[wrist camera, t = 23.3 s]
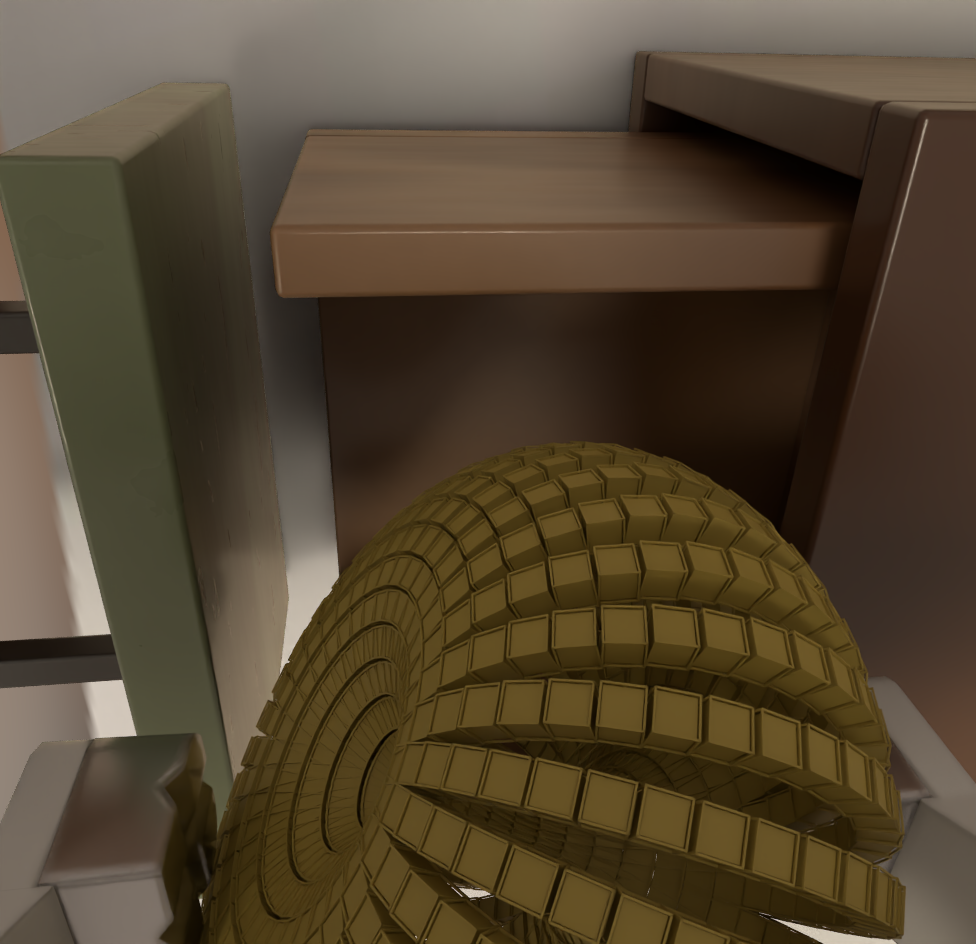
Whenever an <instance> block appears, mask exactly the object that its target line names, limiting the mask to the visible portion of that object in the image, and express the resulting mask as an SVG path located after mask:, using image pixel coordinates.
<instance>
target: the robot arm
mask: <svg viewBox="0 0 976 944" xmlns="http://www.w3.org/2000/svg"><path fill="white" fill-rule="evenodd" d="M864 680H865V678H864ZM864 685H865V684H864ZM868 687H869V688H871V687H873V688H874V692H875V696H876V699H877V703H878V707H879V709H882V712H883V716H884V719H885V723H886V726H887V730H888V734H889V737H890V741H891V745H892V747H891V753H890V758H889V759H890V763H891V767H890V769H889V770H888V772H887V774H892V775H893V779H894V783H895V787H896V790H899V791H900V795H901V804H902V814H903V823H904V832H905V835H904V838H903V840H902V845H903V848H902V849H901V850H899V851H898V852H897V853H895V854H894V855H893V856H892V859H890V860H888V861H885V862H883V863H880V864H878V866H881V867H882V868H883V869H885V870H886V871H887V872H889V873H890V874H891V875H893V876H894V877H898V878H899V880H900V882H901V884H902V885H903V886H906V898H905V921H904V935H903V936H902V939H892V940H894V941H895V942H896V943H897V944H976V783H975V782H974V781H973V779H972V778H971V777H970V776H969V774H968V773H967V772H966V771H965V769H964V768H963V767H962V766H961V764H960V763H959V762H958V760H957V759H956V758H955V757H954V755H953V754H952V753H951V752H950V750H949V749H948V748H947V746H946V745H945V744H944V743H943V741H942V740H941V739H940V738H939V736H938V735H937V734H936V732H935V731H934V730H933V729H932V727H931V726H930V725H929V724H928V722H927V721H926V720H925V719H924V717H923V716H922V715H921V713H920V712H919V711H918V710H917V708H916V707H915V706H914V705H913V703H912V702H911V701H910V699H909V698H908V697H907V696H906V694H905V693H904V692H903V691H902V689H901V688H900V687H899V686H898V684H897V683H896V682H894V681H892V680H891V679H889V678H887V677H886V676H883V677H871V678H868ZM870 691H871V692H872V690H870ZM872 696H873V693H872ZM873 700H874V698H873ZM874 703H875V702H874ZM881 718H882V717H881ZM883 725H884V724H883ZM884 729H885V728H884ZM885 734H886V732H885ZM886 738H887V735H886ZM887 742H888V739H887ZM888 744H889V743H888ZM888 748H889V747H887V752H888ZM206 759H207V757H206V753H205V748H204V744H203V740H202V736H201V735H200V734H197V733H183V734H165V735H146V736H128V737H110V738H95V739H91V740H73V741H55V742H42V743H41V744H40V746H39V747H38V748H37V749H36V750H35V751H34V752H33V753H32V754H31V755H30V757H29V759H28V761H27V764H26V766H25V768H24V770H23V773H22V775H21V777H20V780H19V782H18V784H17V786H16V789H15V791H14V793H13V795H12V798H11V800H10V802H9V805H8V807H7V809H6V811H5V814H4V816H3V818H2V820H1V823H0V944H200V941H201V937H202V932H203V931H204V920H203V915H202V911H201V906H200V902H199V897H200V895H201V894H202V893H203V892H204V891H205V890H206V889H207V887H208V885H209V883H210V881H211V879H212V872H213V870H214V869H213V866H214V858H215V853H216V844H217V813H216V802H215V797H214V792H213V788H212V787H211V786H210V785H208V784H207V783H205V782H204V781H203V775H204V770H205V765H206ZM886 768H887V767H885V770H886ZM884 778H885V777H884ZM888 778H890V777H888ZM890 781H891V779H890ZM896 794H897V793H896ZM898 808H899V800H898ZM899 817H900V809H899ZM831 821H833V820H831ZM829 822H830V821H829ZM836 823H837V822H836ZM833 824H834V823H833ZM833 824H831V825H833ZM816 825H817V824H816ZM900 827H901V819H900ZM812 831H813V830H812ZM807 832H810V831H807ZM901 832H902V828H901ZM804 833H806V832H804ZM896 848H897V847H895V848H894V849H893V850H892V851H894V850H895V849H896ZM892 851H891V852H892ZM882 859H885V858H882ZM882 859H879V860H877V861H874V863H875V862H878V861H880V860H882ZM874 869H877V868H874ZM880 872H881V873H884V872H882V871H881V870H880ZM888 879H889V878H888ZM892 880H895V879H892ZM895 882H896V880H895ZM898 888H899V887H898ZM902 892H903V891H902ZM793 921H795V920H793ZM796 922H799V921H796Z"/></svg>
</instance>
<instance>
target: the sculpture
mask: <svg viewBox="0 0 976 944" xmlns="http://www.w3.org/2000/svg"><path fill="white" fill-rule="evenodd" d="M572 443H573V444H572ZM612 445H614V446H612ZM616 446H618V447H616ZM527 447H538V448H527ZM619 447H621V448H619ZM522 448H525V449H522ZM623 448H624V449H623ZM636 450H638V451H636ZM652 456H653V457H652ZM655 457H656V458H655ZM660 459H661V460H660ZM673 461H674V462H673ZM675 462H676V463H675ZM478 463H480V464H478ZM677 463H679V464H677ZM474 464H477V465H474ZM471 465H472V466H471ZM681 465H683V466H684V467H683V466H681ZM469 466H471V467H469ZM467 467H469V468H467ZM685 467H686V468H688V469H689V470H690V471H689V470H688V469H686V468H685ZM465 468H466V469H465ZM460 471H461V472H460ZM448 479H449V480H448ZM444 481H445V482H444ZM431 489H432V490H431ZM722 489H723V490H722ZM429 490H430V491H429ZM427 491H428V492H427ZM730 492H731V493H730ZM424 493H425V494H424ZM422 494H423V495H422ZM421 495H422V496H421ZM746 504H747V505H748V506H749V507H750V508H751V509H750V508H749V507H748V506H747V505H746ZM401 511H402V512H401ZM529 511H530V512H529ZM530 514H531V515H530ZM766 521H767V522H768V523H767V522H766ZM769 524H770V525H771V526H770V525H769ZM497 535H498V536H497ZM499 537H500V539H499ZM372 538H373V539H372V540H371V541H370V542H369V543H367V544H366V545H365V546H364V547H363V548H362V549H361V551H360V552H359V553H358V554H357V555H356V556H355V558H354V559H353V560H352V562H353V563H352V565H351V566H349V567H348V568H347V569H345V570H344V571H343V573H342V574H341V575H340V577H339V578H338V579H337V581H336V582H335V584H334V585H333V586H332V589H333V590H334V591H333V590H332V591H331V592H330V594H329V595H328V596H327V597H325V598H324V599H323V601H322V602H321V604H320V606H319V607H318V609H317V610H316V612H315V613H314V615H313V617H312V620H311V622H310V623H309V625H308V626H307V628H306V629H305V630H304V631H303V633H302V635H301V637H300V639H299V640H298V642H297V644H296V646H295V647H294V649H293V651H292V654H291V655H290V657H289V659H288V661H290V662H289V663H286V664H285V666H284V668H283V670H282V672H281V674H280V676H279V678H278V680H277V682H276V684H275V686H274V688H273V690H272V692H271V693H273V701H270V700H267V702H266V705H265V707H264V709H263V711H262V714H261V716H260V718H259V720H258V722H257V725H256V728H258V730H259V731H260V732H262V733H263V734H265V735H266V736H259V735H257V736H255V737H253V736H251V739H250V741H249V744H248V747H247V749H246V752H245V754H244V757H243V759H242V762H241V766H243V767H244V769H243V770H242V771H241V772H240V773H237V775H236V778H235V781H234V784H233V787H232V790H231V792H230V795H229V798H228V801H227V804H226V808H227V809H228V810H227V811H224V814H223V818H222V821H221V823H220V826H219V830H218V833H217V844H216V853H215V858H214V866H213V869H214V870H213V872H212V879H211V881H210V883H209V885H208V887H207V889H206V890H205V891H204V892H203V893H202V898H203V900H202V905H201V911H203V912H202V915H203V920H204V931H203V932H202V937H201V941H200V944H823V943H821V942H819V941H817V940H815V939H813V938H811V937H809V936H807V935H805V934H803V933H801V932H799V931H796V930H794V929H792V928H790V927H788V926H786V925H784V924H782V923H780V922H778V921H776V920H774V919H778V920H782V921H786V922H791V923H796V924H800V925H804V926H809V927H813V928H818V929H824V930H829V931H834V932H838V933H843V934H851V935H856V936H862V937H868V938H879V939H887V940H890V939H902V936H903V935H904V921H905V898H906V886H903V885H902V884H901V882H900V880H899V878H898V877H894V876H893V875H891V874H890V873H889V872H887V871H886V870H885V869H883V868H882V867H881V866H878V864H880V863H883V862H885V861H888V860H890V859H892V856H893V855H894V854H895V853H897V852H898V851H899V850H901V849H902V848H903V845H902V840H903V838H904V835H905V832H904V823H903V814H902V804H901V795H900V791H899V790H896V787H895V783H894V779H893V775H892V774H887V772H888V770H889V769H890V767H891V763H890V759H889V758H890V753H891V747H892V745H891V741H890V737H889V734H888V730H887V726H886V723H885V719H884V716H883V712H882V709H879V707H878V703H877V699H876V696H875V692H874V688H873V687H871V688H869V687H868V670H867V668H866V666H865V664H864V662H863V660H862V658H861V655H860V651H859V647H858V645H857V643H856V641H855V639H854V637H853V635H852V633H851V631H850V629H849V626H848V624H847V622H846V620H845V618H842V619H841V618H840V616H839V614H838V613H837V611H836V609H835V608H834V606H833V604H832V603H831V601H830V599H829V596H828V593H827V589H826V587H825V586H824V585H823V583H822V582H821V581H820V579H819V578H818V577H817V576H816V574H815V573H814V572H813V570H812V569H811V568H810V566H809V565H808V563H807V562H806V561H805V559H804V558H803V557H802V556H801V554H800V553H799V552H798V550H797V549H796V548H795V547H794V545H793V544H792V543H791V544H788V543H787V542H786V541H785V540H784V539H783V538H782V537H781V536H780V535H779V534H778V532H777V531H776V529H775V528H774V526H773V525H772V523H771V522H770V521H769V520H768V519H767V518H765V517H764V516H763V515H761V514H760V513H759V512H757V511H756V510H755V509H754V508H752V507H751V506H750V505H749V504H748V503H747V502H746V501H745V500H744V499H742V498H741V497H740V496H739V495H737V494H736V493H735V492H733V491H732V490H731V489H729V490H728V491H727V490H726V489H724V488H723V487H721V486H720V485H718V484H716V483H715V482H713V481H712V480H711V479H710V478H709V477H708V476H706V475H703V474H701V473H698V472H696V471H694V470H692V469H691V468H689V467H688V466H686V465H684V464H683V463H681V462H679V461H676V460H674V459H671V458H668V457H665V456H664V457H663V458H661V457H658V456H656V455H653V454H650V453H647V452H645V451H642V450H639V449H637V448H634V450H631V449H629V448H626V447H623V446H621V445H618V444H614V443H592V442H586V441H570V443H564V444H560V443H554V442H553V443H549V444H544V445H536V446H524V447H520V448H516V449H512V450H511V452H509V453H505V454H501V455H496V456H494V457H490V458H486V459H484V461H480V462H476V463H472V464H470V465H468V466H466V467H464V468H462V469H460V470H458V473H457V474H455V475H453V476H451V477H449V478H445V479H444V480H443V481H441V482H439V483H437V484H435V486H433V487H431V488H429V489H427V490H425V491H424V492H423V493H421V494H420V495H419V496H417V497H416V498H415V499H413V500H412V504H410V505H409V506H407V507H405V508H403V509H401V510H400V511H399V512H398V513H397V514H396V515H395V516H394V517H393V518H392V519H391V520H390V521H389V522H388V523H387V524H386V525H385V526H384V527H383V528H382V529H381V530H380V531H379V532H378V533H376V534H375V535H374V536H373V537H372ZM791 546H792V547H791ZM365 547H366V548H365ZM364 548H365V549H364ZM363 549H364V550H363ZM793 549H794V550H793ZM362 550H363V551H362ZM360 553H361V554H360ZM359 554H360V555H359ZM354 560H355V561H354ZM803 561H804V562H803ZM591 562H592V563H593V565H592V563H591ZM804 563H805V564H804ZM806 566H807V567H806ZM595 568H596V570H595ZM346 570H347V571H346ZM546 571H547V572H546ZM344 572H345V573H344ZM595 573H596V574H595ZM343 574H344V575H343ZM548 574H549V576H550V577H549V576H548ZM342 575H343V576H342ZM552 575H553V576H552ZM341 576H342V577H341ZM340 578H341V579H340ZM550 578H551V579H550ZM339 579H340V580H339ZM596 580H597V582H596ZM337 582H338V583H337ZM336 583H337V584H336ZM821 585H822V587H823V588H822V587H821ZM637 586H638V587H637ZM824 590H825V593H824ZM332 592H333V593H332ZM331 593H332V594H331ZM825 594H826V596H825ZM644 596H645V597H644ZM826 599H827V600H826ZM324 600H325V601H324ZM645 600H646V601H645ZM827 601H828V602H827ZM615 604H616V605H615ZM675 605H676V606H675ZM700 606H702V607H700ZM576 607H578V608H577V609H575V608H576ZM580 607H581V608H580ZM598 607H599V608H598ZM695 607H698V608H695ZM573 608H574V609H573ZM596 608H597V609H596ZM658 608H660V609H658ZM701 608H702V609H701ZM696 610H701V611H696ZM582 611H583V612H582ZM578 612H581V613H578ZM838 618H839V619H838ZM842 621H843V622H844V623H843V622H842ZM549 622H550V623H549ZM840 622H841V623H840ZM551 625H552V626H551ZM309 626H310V627H309ZM305 631H306V632H305ZM555 631H556V632H555ZM848 631H849V632H848ZM849 633H850V635H851V637H850V635H849ZM851 638H852V640H853V642H854V643H853V642H852V640H851ZM599 647H600V648H599ZM290 659H291V660H290ZM292 660H293V661H292ZM864 670H865V671H864ZM283 671H284V672H283ZM282 673H283V674H282ZM539 673H543V674H540V675H537V674H539ZM544 673H545V674H544ZM583 673H584V674H583ZM864 674H865V680H864ZM281 675H282V676H281ZM529 675H530V676H529ZM531 675H534V676H531ZM579 675H580V676H579ZM551 676H552V677H551ZM280 677H281V678H280ZM540 677H545V678H546V679H548V680H549V681H548V683H547V682H546V681H545V680H542V679H541V678H540ZM538 678H539V679H540V680H539V679H538ZM279 679H280V680H279ZM278 681H279V682H278ZM277 683H278V684H277ZM864 684H865V685H864ZM496 686H497V687H496ZM551 686H552V687H551ZM741 686H742V687H741ZM505 689H506V691H505ZM870 690H872V692H871V691H870ZM550 692H551V693H550ZM872 693H873V696H872ZM703 697H705V698H703ZM873 698H874V700H873ZM275 699H276V700H275ZM874 702H875V703H874ZM267 704H268V705H267ZM266 706H267V707H266ZM263 713H264V714H263ZM262 715H263V716H262ZM881 717H882V718H881ZM259 722H260V723H259ZM883 724H884V725H883ZM884 728H885V729H884ZM262 730H263V731H262ZM885 732H886V734H885ZM886 735H887V738H886ZM271 736H272V737H271ZM258 737H260V738H258ZM270 738H271V739H270ZM509 738H511V739H512V740H492V739H509ZM887 739H888V742H887ZM510 742H515V743H516V744H517V745H518V746H519V747H520V748H521V749H523V750H524V751H525V752H526V753H527V754H528V755H529V756H525V755H520V754H518V753H516V752H514V751H512V750H511V749H509V748H507V747H506V746H504V745H503V744H501V743H510ZM517 742H518V743H519V744H520V745H521V746H522V747H521V746H520V745H519V744H518V743H517ZM250 743H251V744H250ZM498 743H499V744H500V745H499V744H498ZM888 743H889V744H888ZM501 745H502V746H501ZM249 746H250V747H249ZM504 747H505V748H504ZM887 747H889V748H888V752H887ZM248 748H249V749H248ZM506 748H507V749H506ZM526 750H527V751H528V752H529V753H530V754H529V753H528V752H527V751H526ZM247 751H248V752H247ZM511 752H512V753H511ZM245 756H246V757H245ZM531 756H532V757H531ZM520 757H521V758H520ZM522 758H523V759H522ZM525 758H526V759H525ZM527 759H529V760H527ZM243 761H244V762H243ZM532 761H533V762H535V763H533V762H532ZM537 765H538V766H537ZM885 767H887V768H886V770H885ZM247 770H248V771H247ZM249 770H250V771H249ZM884 777H885V778H884ZM888 777H890V778H888ZM890 779H891V781H890ZM232 791H233V792H232ZM896 793H897V794H896ZM231 794H232V795H231ZM677 796H678V797H677ZM230 797H231V798H230ZM898 800H899V808H898ZM899 809H900V817H899ZM226 813H227V814H226ZM228 813H229V814H228ZM225 814H226V815H225ZM900 819H901V827H900ZM831 820H833V821H831ZM829 821H830V822H829ZM836 822H837V823H836ZM833 823H834V824H833ZM816 824H817V825H816ZM831 824H833V825H831ZM901 828H902V832H901ZM812 830H813V831H812ZM807 831H810V832H807ZM804 832H806V833H804ZM895 847H897V848H896V849H895V850H894V851H892V850H893V849H894V848H895ZM891 851H892V852H891ZM656 854H657V858H656ZM882 858H885V859H882ZM879 859H882V860H880V861H878V862H875V863H874V861H877V860H879ZM874 868H877V869H874ZM880 870H881V871H882V872H884V873H881V872H880ZM653 873H654V875H653ZM652 877H653V879H652ZM888 878H889V879H888ZM892 879H895V880H896V882H895V880H892ZM447 883H448V884H447ZM449 884H450V885H449ZM459 886H465V887H459ZM451 887H453V888H454V889H455V890H457V891H458V892H459V893H460V894H461V895H462V896H463V897H461V896H460V895H459V894H458V893H457V892H456V891H455V890H454V889H452V888H451ZM472 887H473V888H472ZM898 887H899V888H898ZM459 888H465V889H470V888H471V889H473V890H483V891H486V892H488V893H490V894H491V895H487V896H483V897H479V898H478V897H473V898H469V897H468V896H467V895H466V894H464V893H463V892H462V891H461V890H460V889H459ZM475 888H481V889H475ZM649 888H650V889H649ZM648 891H649V892H648ZM902 891H903V892H902ZM647 893H648V895H647ZM490 896H493V897H490ZM204 897H205V898H204ZM486 897H489V898H486ZM482 898H485V899H482ZM471 899H476V900H471ZM479 900H480V901H479ZM203 903H204V906H203ZM759 912H760V913H759ZM761 913H764V914H761ZM765 914H768V915H765ZM760 915H761V916H760ZM769 915H771V916H769ZM762 916H763V917H762ZM773 916H774V917H773ZM764 917H765V918H764ZM766 918H767V919H766ZM771 918H774V919H771ZM785 918H786V919H785ZM768 919H769V920H768ZM792 920H795V921H792ZM796 921H799V922H796ZM800 922H801V923H800ZM816 924H817V925H816ZM502 926H503V927H502ZM822 926H824V927H827V928H824V927H822ZM784 927H785V928H784ZM787 928H788V929H787ZM829 928H830V929H829ZM791 930H792V931H791ZM844 930H846V931H844ZM793 931H794V932H793ZM850 931H851V932H850ZM795 932H796V933H795ZM852 932H854V933H852ZM868 933H869V934H868ZM875 935H876V936H875ZM415 936H417V938H416V937H415ZM425 939H427V940H425Z"/></svg>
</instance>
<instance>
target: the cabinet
mask: <svg viewBox="0 0 976 944" xmlns="http://www.w3.org/2000/svg"><path fill="white" fill-rule="evenodd" d="M628 132H683V133H735V134H738V135H741V136H744V137H746V138H749V139H752V140H754V141H757V142H760V143H762V144H765V145H768V146H770V147H773V148H776V149H779V150H781V151H784V152H787V153H789V154H792V155H795V156H797V157H800V158H803V159H805V160H808V161H811V162H814V163H816V164H819V165H822V166H824V167H827V168H830V169H832V170H835V171H838V172H840V173H843V174H846V175H849V176H851V177H854V178H857V179H859V180H863V182H862V187H861V191H860V195H859V199H858V204H857V208H856V212H855V216H854V220H853V225H852V229H851V233H850V237H849V242H848V246H847V250H846V254H845V259H844V263H843V267H842V271H841V275H840V280H839V284H838V288H837V292H836V297H835V301H834V305H833V309H832V314H831V318H830V322H829V326H828V330H827V335H826V339H825V343H824V347H823V352H822V356H821V360H820V364H819V368H818V373H817V377H816V381H815V385H814V390H813V394H812V398H811V402H810V407H809V411H808V415H807V419H806V423H805V428H804V432H803V436H802V440H801V445H800V449H799V453H798V457H797V462H796V466H795V470H794V474H793V478H792V483H791V487H790V491H789V495H788V500H787V504H786V508H785V512H784V516H783V521H782V525H781V529H780V533H779V535H780V536H781V537H782V538H783V539H784V540H785V541H786V542H787V543H788V544H791V543H792V544H793V545H794V547H795V548H796V549H797V550H798V552H799V553H800V554H801V556H802V557H803V558H804V559H805V561H806V562H807V563H808V565H809V566H810V568H811V569H812V570H813V572H814V573H815V574H816V576H817V577H818V578H819V579H820V581H821V582H822V583H823V585H824V586H825V587H826V589H827V593H828V596H829V599H830V601H831V603H832V604H833V606H834V608H835V609H836V611H837V613H838V614H839V616H840V618H841V619H842V618H845V620H846V622H847V624H848V626H849V629H850V631H851V633H852V635H853V637H854V639H855V641H856V643H857V645H858V647H859V651H860V655H861V658H862V660H863V662H864V664H865V666H866V668H867V670H868V678H871V677H883V676H886V677H887V678H889V679H891V680H892V681H894V682H896V683H897V684H898V686H899V687H900V688H901V689H902V691H903V692H904V693H905V694H906V696H907V697H908V698H909V699H910V701H911V702H912V703H913V705H914V706H915V707H916V708H917V710H918V711H919V712H920V713H921V715H922V716H923V717H924V719H925V720H926V721H927V722H928V724H929V725H930V726H931V727H932V729H933V730H934V731H935V732H936V734H937V735H938V736H939V738H940V739H941V740H942V741H943V743H944V744H945V745H946V746H947V748H948V749H949V750H950V752H951V753H952V754H953V755H954V757H955V758H956V759H957V760H958V762H959V763H960V764H961V766H962V767H963V768H964V769H965V771H966V772H967V773H968V774H969V776H970V777H971V778H972V779H973V781H974V782H975V783H976V58H938V57H891V56H844V55H797V54H750V53H703V52H657V51H639V52H637V54H636V59H635V69H634V79H633V89H632V99H631V109H630V119H629V129H628ZM791 547H792V546H791ZM793 550H794V549H793ZM803 562H804V561H803ZM804 564H805V563H804ZM806 567H807V566H806ZM821 587H822V585H821ZM822 588H823V587H822ZM824 593H825V590H824ZM825 596H826V594H825ZM826 600H827V599H826ZM827 602H828V601H827ZM838 619H839V618H838ZM842 622H843V621H842ZM840 623H841V622H840ZM843 623H844V622H843ZM848 632H849V631H848ZM849 635H850V633H849ZM850 637H851V635H850ZM851 640H852V638H851ZM852 642H853V640H852ZM853 643H854V642H853ZM864 671H865V670H864ZM864 678H865V674H864Z"/></svg>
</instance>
